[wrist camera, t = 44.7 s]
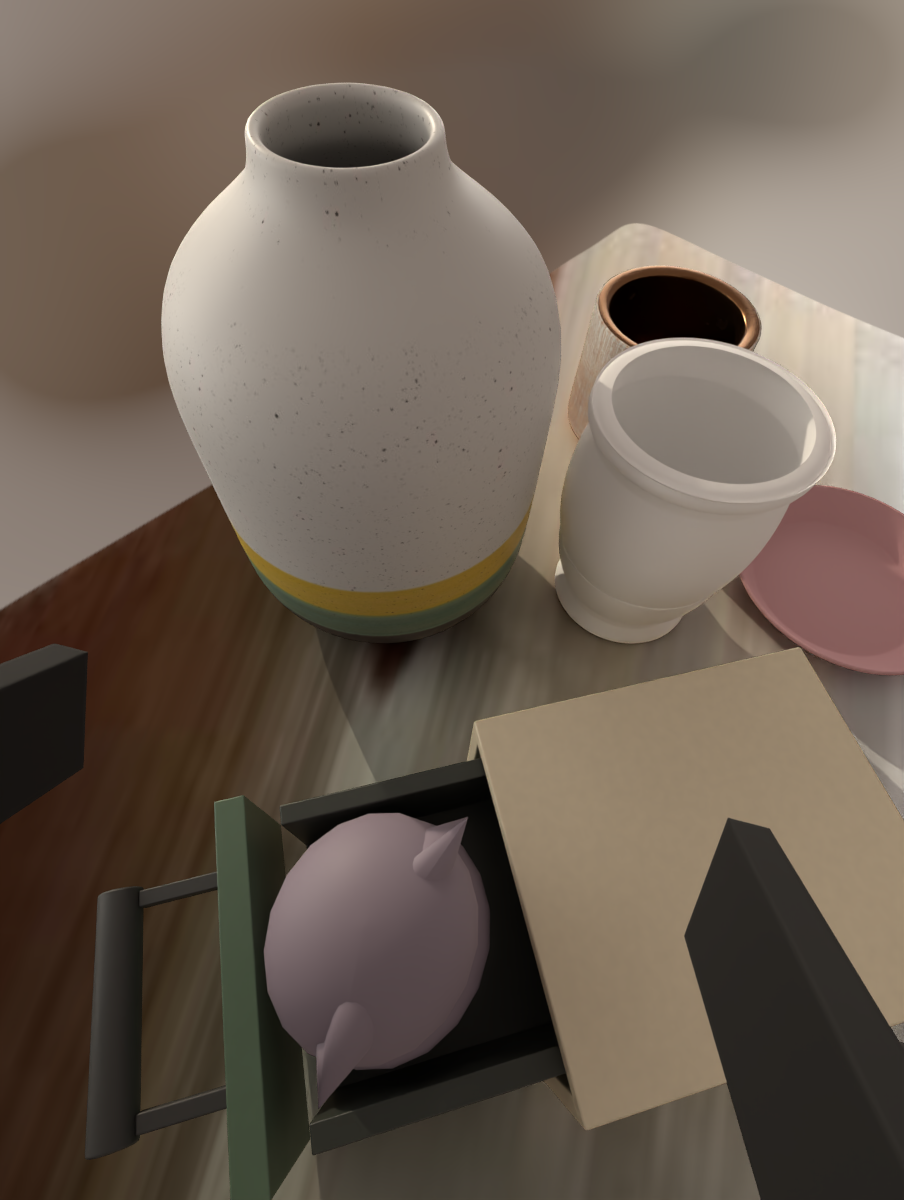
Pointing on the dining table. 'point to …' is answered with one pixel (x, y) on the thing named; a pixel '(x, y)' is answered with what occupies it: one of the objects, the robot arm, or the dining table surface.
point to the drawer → (250, 1023)
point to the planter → (658, 320)
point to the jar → (681, 480)
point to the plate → (836, 579)
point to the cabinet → (680, 857)
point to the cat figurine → (377, 943)
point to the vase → (364, 364)
